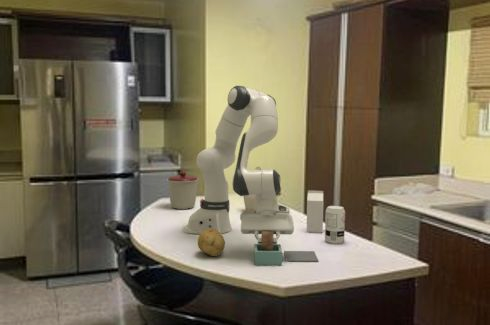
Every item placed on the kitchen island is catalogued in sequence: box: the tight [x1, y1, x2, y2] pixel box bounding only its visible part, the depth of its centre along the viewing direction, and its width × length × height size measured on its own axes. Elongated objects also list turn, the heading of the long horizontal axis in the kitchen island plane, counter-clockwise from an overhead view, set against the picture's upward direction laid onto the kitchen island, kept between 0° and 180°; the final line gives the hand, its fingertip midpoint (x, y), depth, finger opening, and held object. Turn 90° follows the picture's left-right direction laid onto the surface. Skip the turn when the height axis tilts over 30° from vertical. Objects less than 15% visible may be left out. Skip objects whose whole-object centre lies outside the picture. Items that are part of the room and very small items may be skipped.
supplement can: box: [324, 205, 346, 245], centre depth 208 cm, size 8×8×15 cm
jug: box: [242, 166, 262, 212], centre depth 265 cm, size 15×16×25 cm
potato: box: [197, 229, 226, 257], centre depth 189 cm, size 10×12×10 cm
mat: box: [283, 250, 319, 263], centre depth 187 cm, size 12×12×1 cm
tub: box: [253, 243, 283, 266], centre depth 182 cm, size 10×10×5 cm
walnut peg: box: [260, 231, 275, 251], centre depth 182 cm, size 4×4×10 cm
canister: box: [166, 170, 200, 210], centre depth 275 cm, size 18×18×21 cm
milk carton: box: [306, 190, 324, 234], centre depth 226 cm, size 7×7×19 cm
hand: (267, 243), depth 181 cm, fingers closed on walnut peg, 4 cm apart
